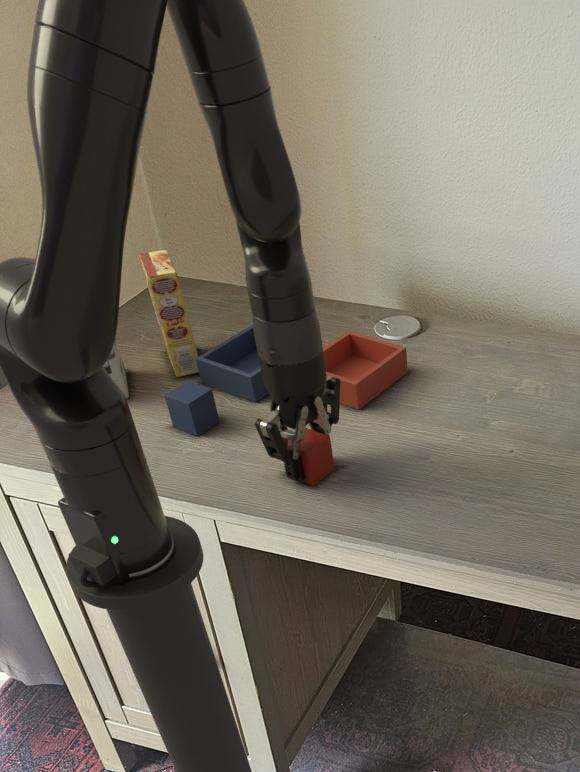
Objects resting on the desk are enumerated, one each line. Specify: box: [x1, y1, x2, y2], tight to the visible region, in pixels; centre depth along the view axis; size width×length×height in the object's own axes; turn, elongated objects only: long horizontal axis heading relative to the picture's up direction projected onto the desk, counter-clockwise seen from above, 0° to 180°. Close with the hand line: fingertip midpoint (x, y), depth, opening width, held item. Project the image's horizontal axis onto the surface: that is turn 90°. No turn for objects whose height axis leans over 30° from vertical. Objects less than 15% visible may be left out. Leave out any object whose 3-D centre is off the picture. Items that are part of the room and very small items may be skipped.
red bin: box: [323, 330, 409, 410], centre depth 127 cm, size 13×11×4 cm
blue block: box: [163, 380, 220, 437], centre depth 119 cm, size 4×4×5 cm
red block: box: [288, 426, 336, 487], centre depth 111 cm, size 4×4×5 cm
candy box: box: [139, 249, 199, 378], centre depth 127 cm, size 9×4×15 cm, turn 24°
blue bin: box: [196, 324, 270, 403], centre depth 129 cm, size 13×11×4 cm
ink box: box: [103, 337, 130, 399], centre depth 123 cm, size 9×5×12 cm, turn 18°
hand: (310, 468), depth 112 cm, fingers open, 5 cm apart
